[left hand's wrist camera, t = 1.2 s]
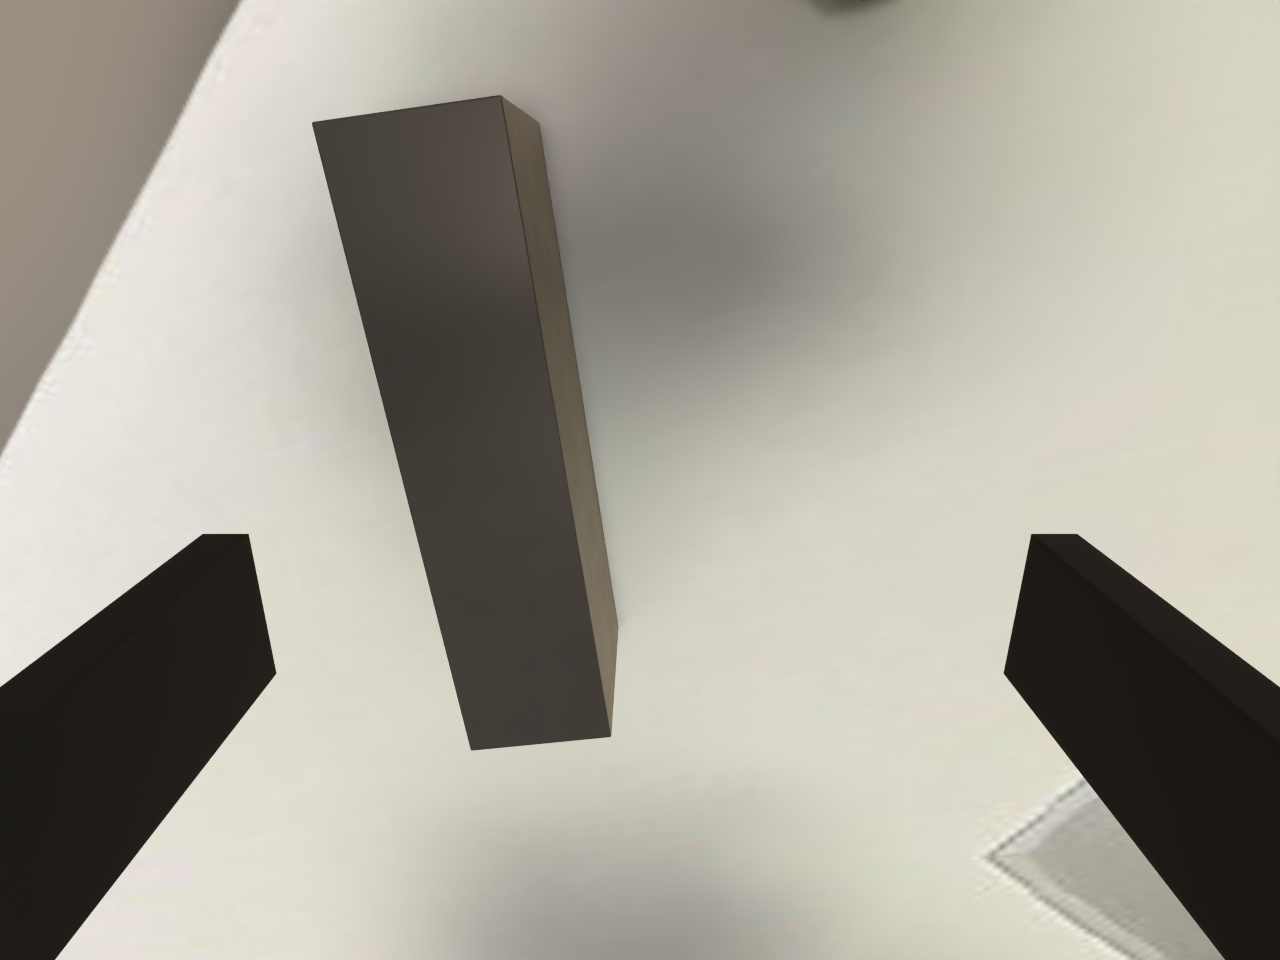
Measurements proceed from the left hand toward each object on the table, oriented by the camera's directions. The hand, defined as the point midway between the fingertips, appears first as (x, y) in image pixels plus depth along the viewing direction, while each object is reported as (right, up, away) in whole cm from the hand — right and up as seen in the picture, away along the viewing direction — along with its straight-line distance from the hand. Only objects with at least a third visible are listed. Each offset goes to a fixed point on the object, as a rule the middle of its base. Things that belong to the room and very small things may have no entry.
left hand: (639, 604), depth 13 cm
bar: (-6, +5, +22) cm, 24 cm away
